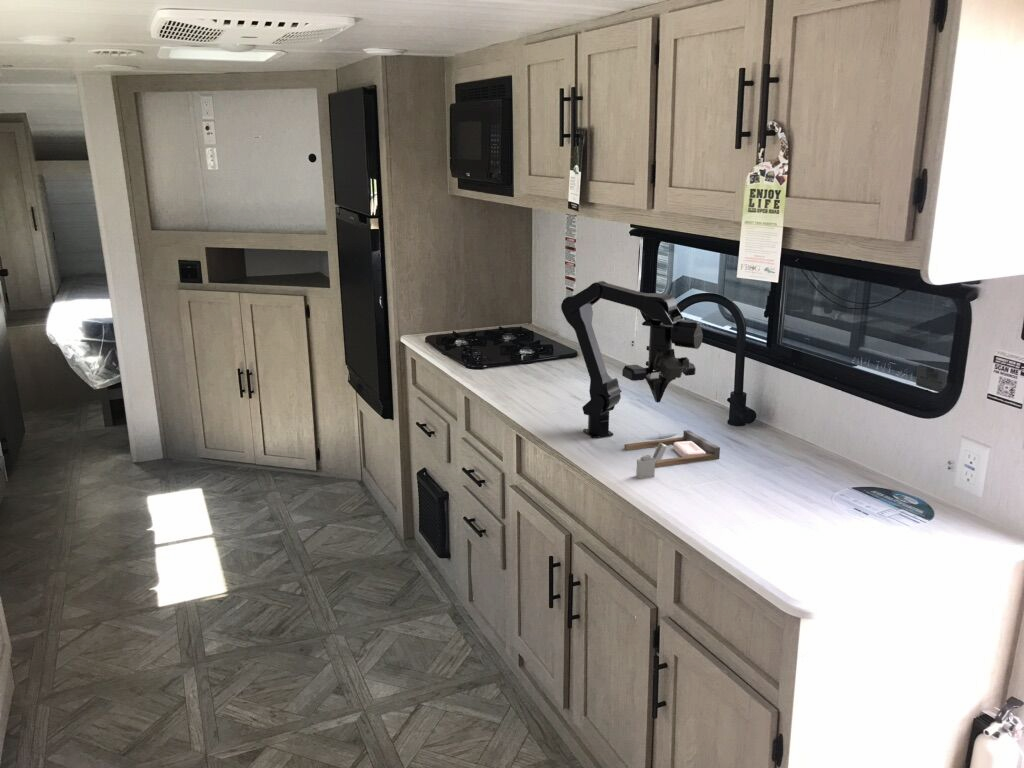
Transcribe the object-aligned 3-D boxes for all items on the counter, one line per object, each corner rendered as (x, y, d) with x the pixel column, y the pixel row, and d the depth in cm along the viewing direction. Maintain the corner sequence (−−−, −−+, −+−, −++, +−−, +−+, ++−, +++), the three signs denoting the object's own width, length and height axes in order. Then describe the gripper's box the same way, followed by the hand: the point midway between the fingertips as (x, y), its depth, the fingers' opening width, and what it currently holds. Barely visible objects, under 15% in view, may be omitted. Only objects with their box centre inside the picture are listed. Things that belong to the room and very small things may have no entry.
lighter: (638, 478, 205) (640, 446, 203) (635, 476, 207) (637, 444, 205) (665, 475, 208) (667, 444, 205) (662, 473, 209) (664, 441, 207)
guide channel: (624, 448, 226) (624, 437, 225) (687, 440, 232) (688, 430, 232) (652, 467, 212) (653, 456, 212) (719, 458, 219) (720, 447, 218)
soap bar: (691, 448, 227) (692, 440, 227) (705, 460, 219) (706, 451, 218) (672, 450, 226) (673, 441, 226) (686, 462, 218) (686, 453, 217)
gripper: (643, 353, 211) (640, 414, 215) (709, 347, 217) (705, 407, 221) (622, 344, 221) (620, 402, 225) (685, 338, 227) (682, 395, 231)
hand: (657, 402), depth 225 cm, fingers closed
